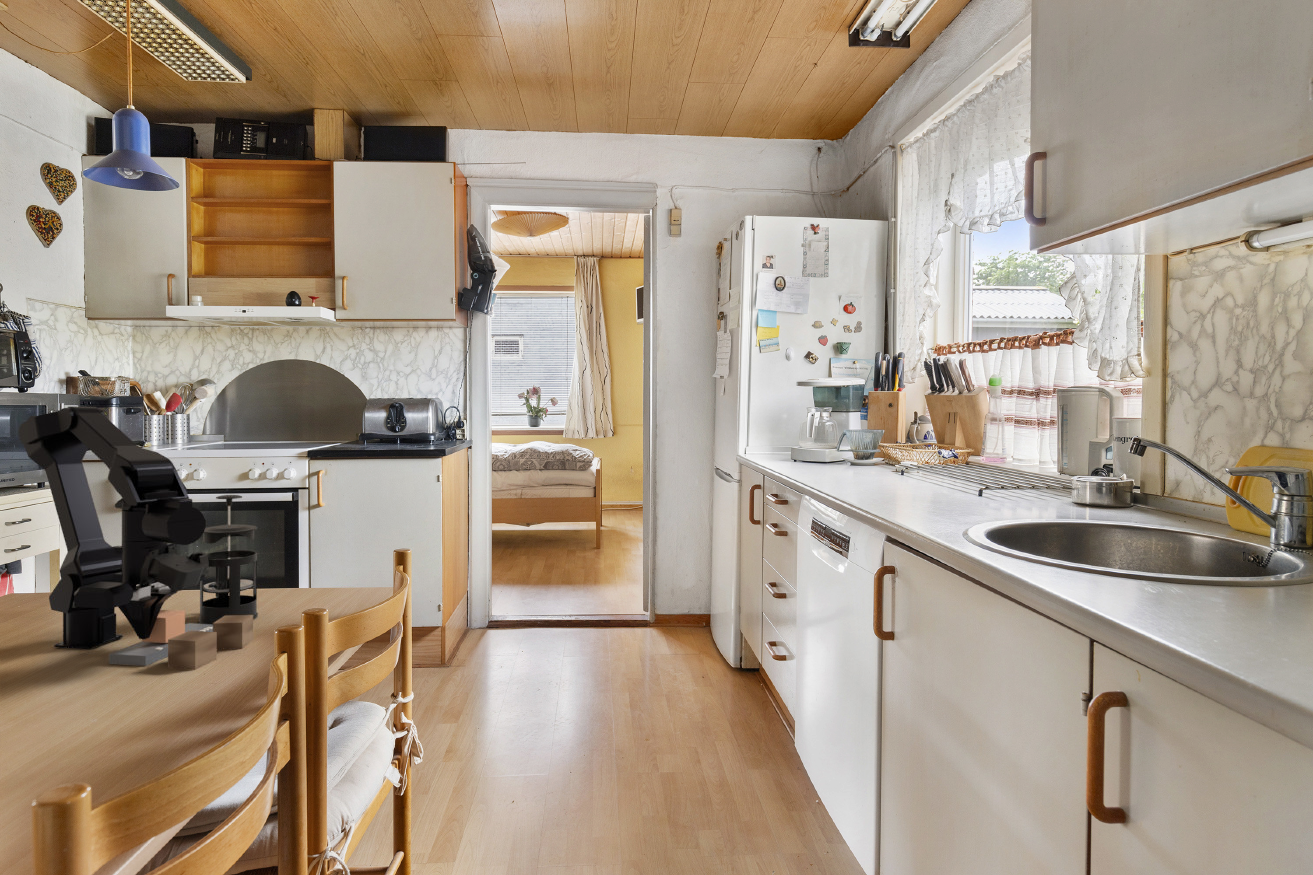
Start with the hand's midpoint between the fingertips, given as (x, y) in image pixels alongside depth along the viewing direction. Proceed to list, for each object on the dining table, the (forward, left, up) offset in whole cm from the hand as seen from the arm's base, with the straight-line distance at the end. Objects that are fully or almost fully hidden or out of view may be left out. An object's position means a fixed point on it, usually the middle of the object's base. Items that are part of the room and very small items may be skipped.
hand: (144, 638), depth 110 cm
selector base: (0, +5, -3) cm, 6 cm away
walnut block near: (+9, -1, -3) cm, 10 cm away
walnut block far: (+9, +8, -3) cm, 12 cm away
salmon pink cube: (0, +4, -1) cm, 4 cm away
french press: (-2, +21, -3) cm, 22 cm away
